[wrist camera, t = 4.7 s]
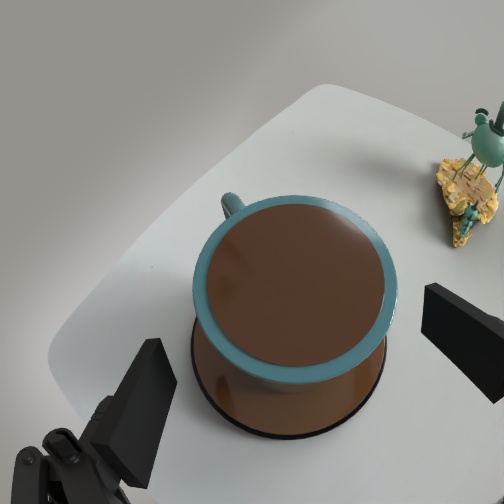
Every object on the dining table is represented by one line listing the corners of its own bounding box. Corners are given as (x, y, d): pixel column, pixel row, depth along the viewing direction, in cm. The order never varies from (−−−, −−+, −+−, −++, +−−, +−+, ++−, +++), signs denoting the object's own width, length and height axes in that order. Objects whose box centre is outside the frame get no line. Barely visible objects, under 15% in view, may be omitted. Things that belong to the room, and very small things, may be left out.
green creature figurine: (401, 206, 26) (449, 77, 14) (449, 158, 32) (480, 75, 20) (469, 265, 21) (548, 149, 9) (497, 197, 27) (538, 117, 15)
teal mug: (413, 361, 17) (505, 314, 8) (251, 465, 15) (217, 525, 6) (315, 229, 24) (326, 125, 15) (169, 306, 22) (97, 228, 13)
